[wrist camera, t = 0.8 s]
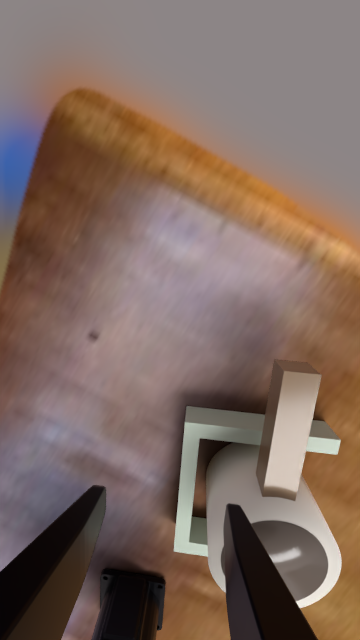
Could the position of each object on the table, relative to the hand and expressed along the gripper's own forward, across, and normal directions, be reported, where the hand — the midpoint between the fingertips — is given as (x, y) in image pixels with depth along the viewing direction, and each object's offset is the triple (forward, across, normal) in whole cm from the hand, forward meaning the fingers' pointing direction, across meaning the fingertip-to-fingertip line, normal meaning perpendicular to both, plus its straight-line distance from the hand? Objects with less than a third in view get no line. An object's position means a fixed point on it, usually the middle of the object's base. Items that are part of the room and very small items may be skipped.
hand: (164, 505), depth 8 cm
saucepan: (+12, -6, +6) cm, 15 cm away
